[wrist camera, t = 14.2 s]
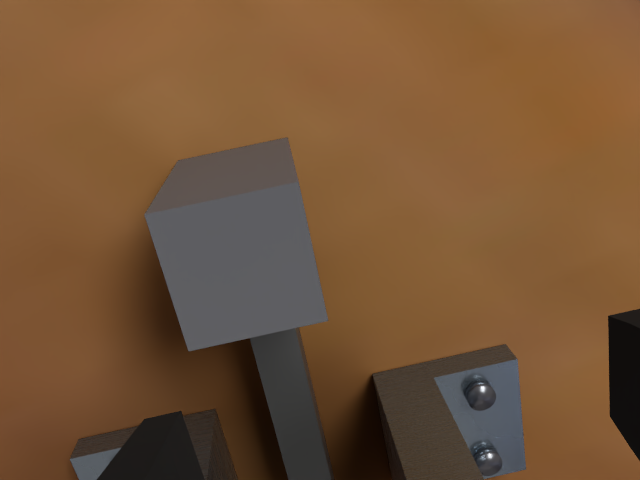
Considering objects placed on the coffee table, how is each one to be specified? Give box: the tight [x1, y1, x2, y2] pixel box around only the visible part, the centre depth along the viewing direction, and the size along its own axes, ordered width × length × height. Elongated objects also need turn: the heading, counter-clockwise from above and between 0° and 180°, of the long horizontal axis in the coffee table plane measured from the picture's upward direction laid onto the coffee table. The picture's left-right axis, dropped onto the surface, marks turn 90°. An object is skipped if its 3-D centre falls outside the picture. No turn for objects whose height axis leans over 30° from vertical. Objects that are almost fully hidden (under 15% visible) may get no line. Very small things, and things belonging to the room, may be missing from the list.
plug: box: [144, 137, 335, 480], centre depth 18 cm, size 17×3×5 cm, turn 11°
